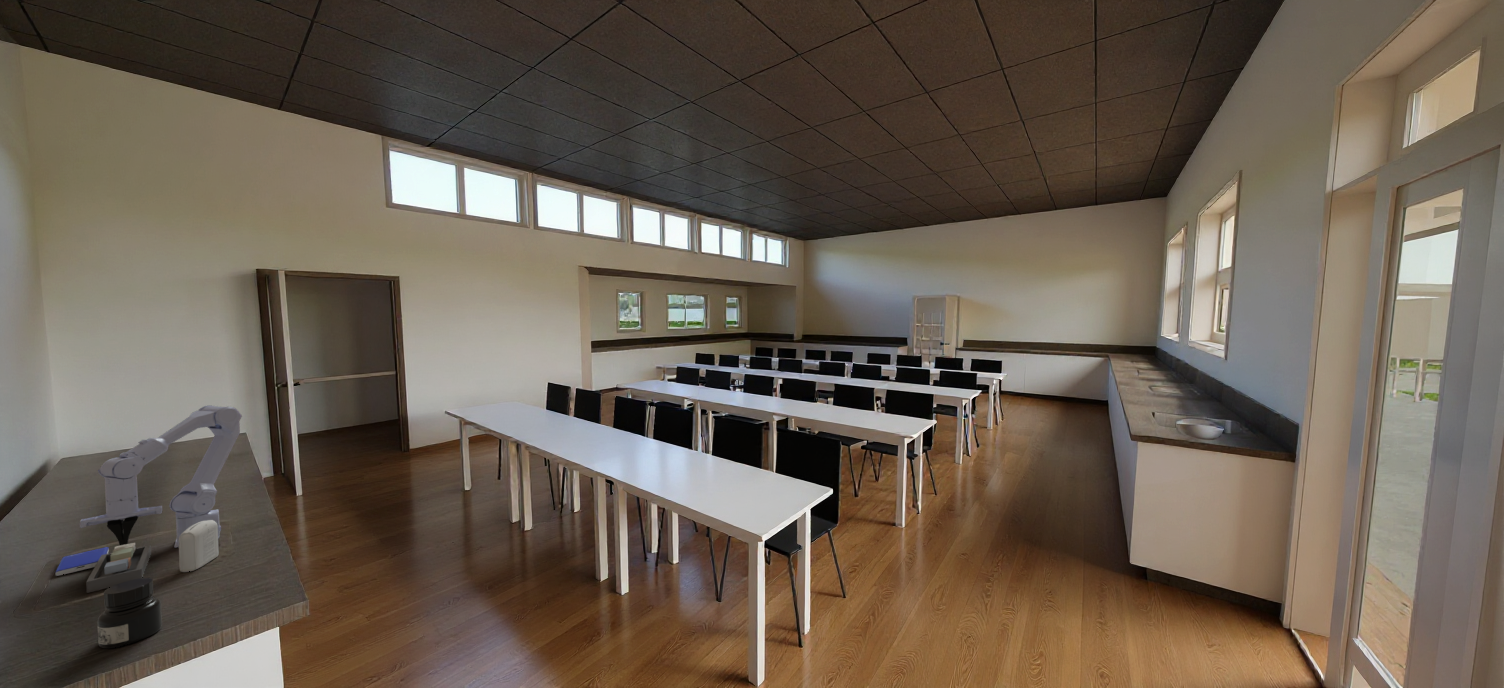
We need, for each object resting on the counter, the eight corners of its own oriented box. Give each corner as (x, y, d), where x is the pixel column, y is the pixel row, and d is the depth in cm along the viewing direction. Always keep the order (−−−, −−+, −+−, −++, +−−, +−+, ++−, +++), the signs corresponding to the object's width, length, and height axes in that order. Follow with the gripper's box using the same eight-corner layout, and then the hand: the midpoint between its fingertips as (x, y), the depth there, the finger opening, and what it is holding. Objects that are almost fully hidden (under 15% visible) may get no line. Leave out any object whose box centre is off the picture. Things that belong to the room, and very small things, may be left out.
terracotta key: (131, 566, 137) (130, 557, 137) (129, 570, 135) (128, 561, 135) (110, 571, 134) (109, 561, 134) (108, 575, 132) (107, 566, 132)
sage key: (133, 556, 140) (132, 547, 140) (131, 560, 138) (131, 551, 138) (113, 560, 138) (112, 551, 137) (110, 565, 135) (110, 556, 135)
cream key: (135, 551, 143) (135, 542, 143) (133, 555, 141) (133, 546, 141) (115, 555, 141) (115, 546, 140) (113, 559, 138) (113, 550, 138)
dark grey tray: (151, 554, 147) (150, 544, 146) (142, 579, 132) (141, 569, 132) (102, 565, 140) (101, 555, 140) (86, 592, 126) (86, 581, 126)
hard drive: (62, 556, 141) (55, 571, 133) (108, 546, 147) (104, 559, 139) (62, 561, 141) (55, 576, 133) (108, 551, 147) (104, 564, 139)
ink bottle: (90, 643, 106) (87, 591, 106) (150, 620, 115) (148, 571, 114) (109, 654, 103) (107, 600, 102) (170, 630, 111) (168, 580, 111)
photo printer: (203, 557, 145) (201, 517, 145) (221, 555, 147) (220, 515, 146) (176, 574, 136) (174, 531, 135) (196, 571, 137) (194, 529, 136)
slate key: (128, 567, 134) (128, 558, 134) (126, 572, 131) (126, 562, 131) (107, 572, 131) (106, 562, 131) (104, 577, 129) (104, 567, 129)
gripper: (76, 508, 132) (78, 556, 132) (159, 495, 143) (161, 539, 143) (82, 502, 137) (84, 548, 137) (162, 489, 147) (164, 532, 148)
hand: (124, 543), depth 141 cm, fingers closed
